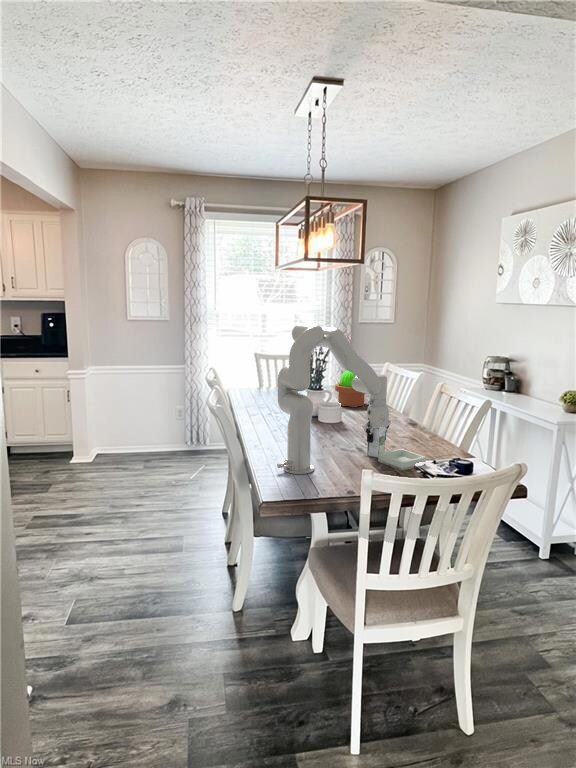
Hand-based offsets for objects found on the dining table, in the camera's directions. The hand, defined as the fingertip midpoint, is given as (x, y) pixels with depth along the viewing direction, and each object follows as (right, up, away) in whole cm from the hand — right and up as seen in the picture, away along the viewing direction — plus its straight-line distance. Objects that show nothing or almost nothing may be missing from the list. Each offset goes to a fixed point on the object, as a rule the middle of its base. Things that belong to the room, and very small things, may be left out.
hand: (376, 440), depth 215 cm
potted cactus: (+3, +11, +108) cm, 109 cm away
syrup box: (0, -7, +1) cm, 7 cm away
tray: (+9, -9, -9) cm, 16 cm away
